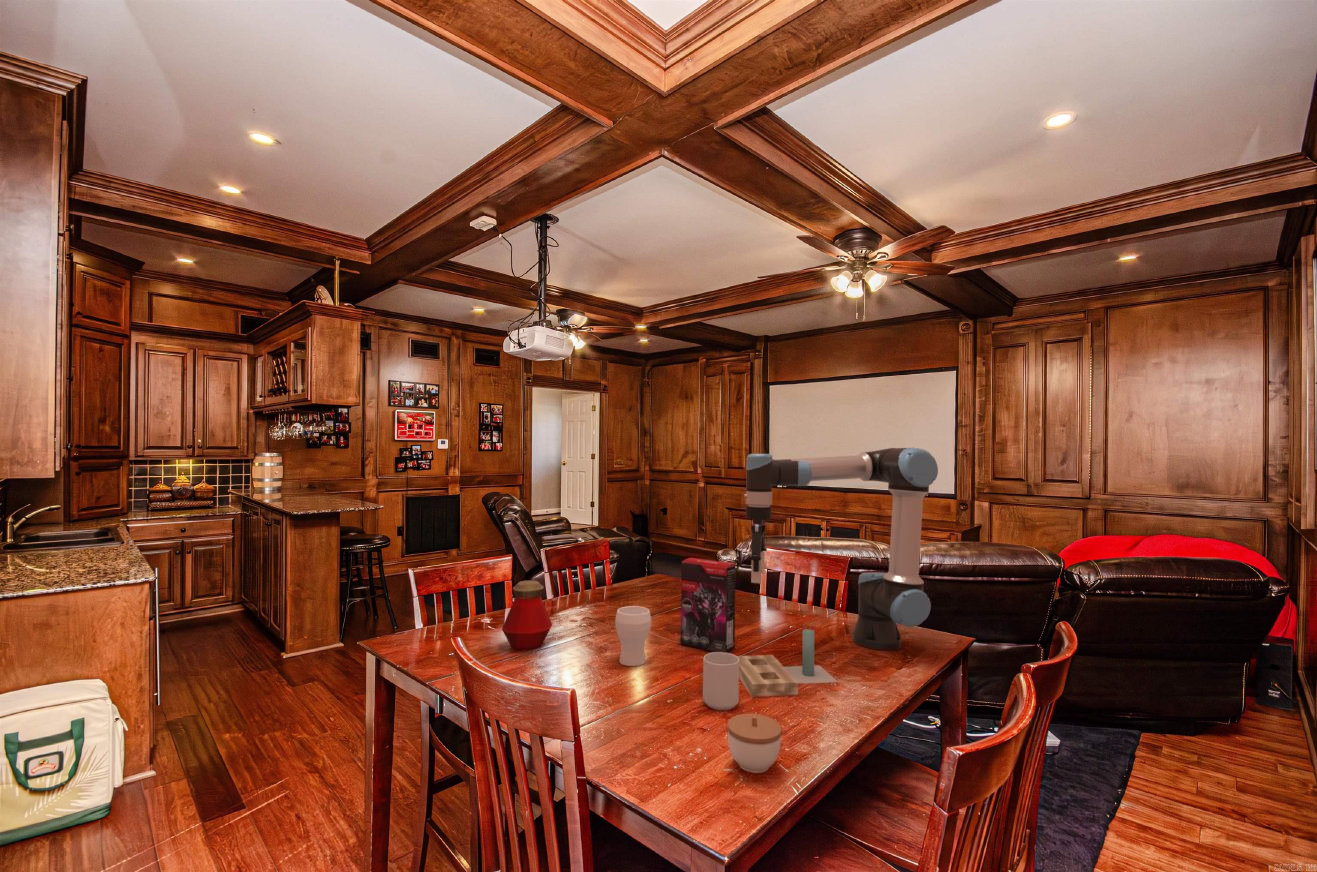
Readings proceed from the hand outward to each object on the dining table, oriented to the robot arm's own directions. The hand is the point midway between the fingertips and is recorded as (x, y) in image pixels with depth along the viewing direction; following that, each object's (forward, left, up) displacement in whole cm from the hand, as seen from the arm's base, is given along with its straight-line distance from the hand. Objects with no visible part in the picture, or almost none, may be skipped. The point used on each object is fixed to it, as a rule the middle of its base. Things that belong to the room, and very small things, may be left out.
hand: (758, 577), depth 169 cm
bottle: (+68, -22, -26) cm, 76 cm away
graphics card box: (+12, -16, -26) cm, 32 cm away
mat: (-12, +9, -25) cm, 30 cm away
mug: (+16, +23, -26) cm, 38 cm away
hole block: (+2, +12, -25) cm, 28 cm away
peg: (-12, +9, -25) cm, 29 cm away
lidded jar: (+17, +52, -26) cm, 61 cm away
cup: (+36, -6, -26) cm, 45 cm away
